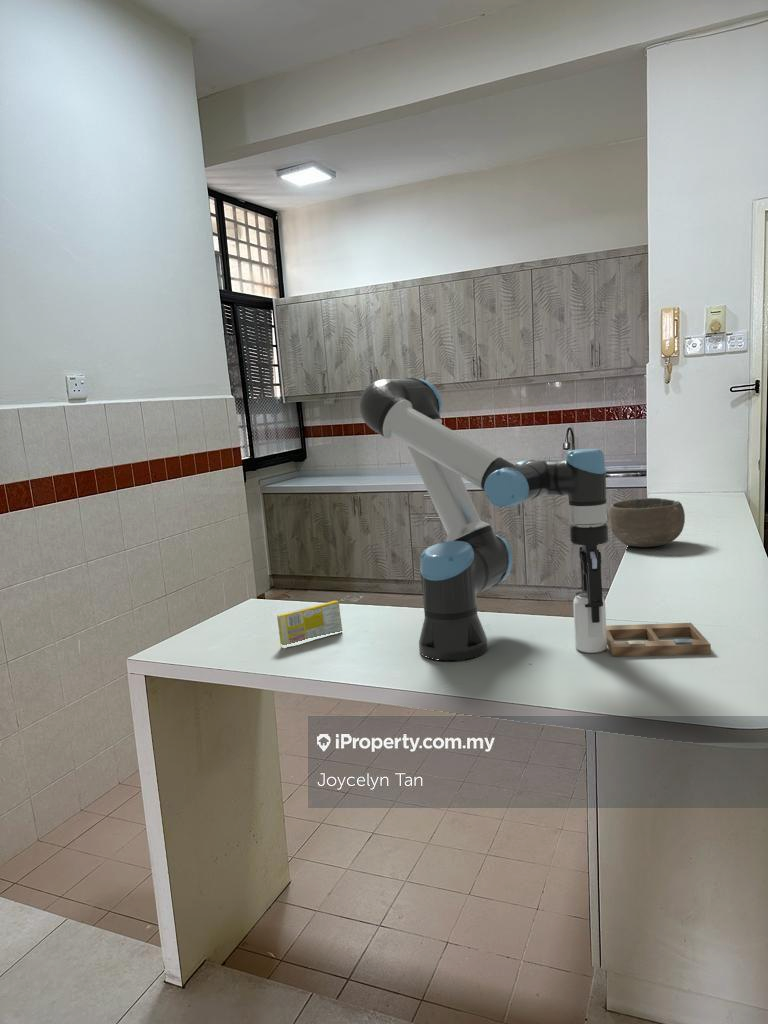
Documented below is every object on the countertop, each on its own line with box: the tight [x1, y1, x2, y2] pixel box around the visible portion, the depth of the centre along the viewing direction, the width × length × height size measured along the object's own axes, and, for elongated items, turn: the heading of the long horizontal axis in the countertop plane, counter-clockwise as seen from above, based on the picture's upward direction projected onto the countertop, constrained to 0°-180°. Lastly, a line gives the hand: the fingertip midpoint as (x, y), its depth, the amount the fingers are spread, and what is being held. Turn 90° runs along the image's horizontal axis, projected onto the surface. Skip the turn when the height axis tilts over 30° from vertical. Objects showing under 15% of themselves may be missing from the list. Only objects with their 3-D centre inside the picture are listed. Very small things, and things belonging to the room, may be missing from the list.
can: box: [573, 590, 608, 654], centre depth 148 cm, size 6×6×12 cm
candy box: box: [276, 600, 343, 645], centre depth 171 cm, size 16×2×8 cm, turn 123°
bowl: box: [608, 497, 686, 548], centre depth 242 cm, size 24×24×15 cm
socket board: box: [606, 622, 712, 658], centre depth 149 cm, size 19×14×2 cm
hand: (593, 630), depth 149 cm, fingers closed on can, 6 cm apart
